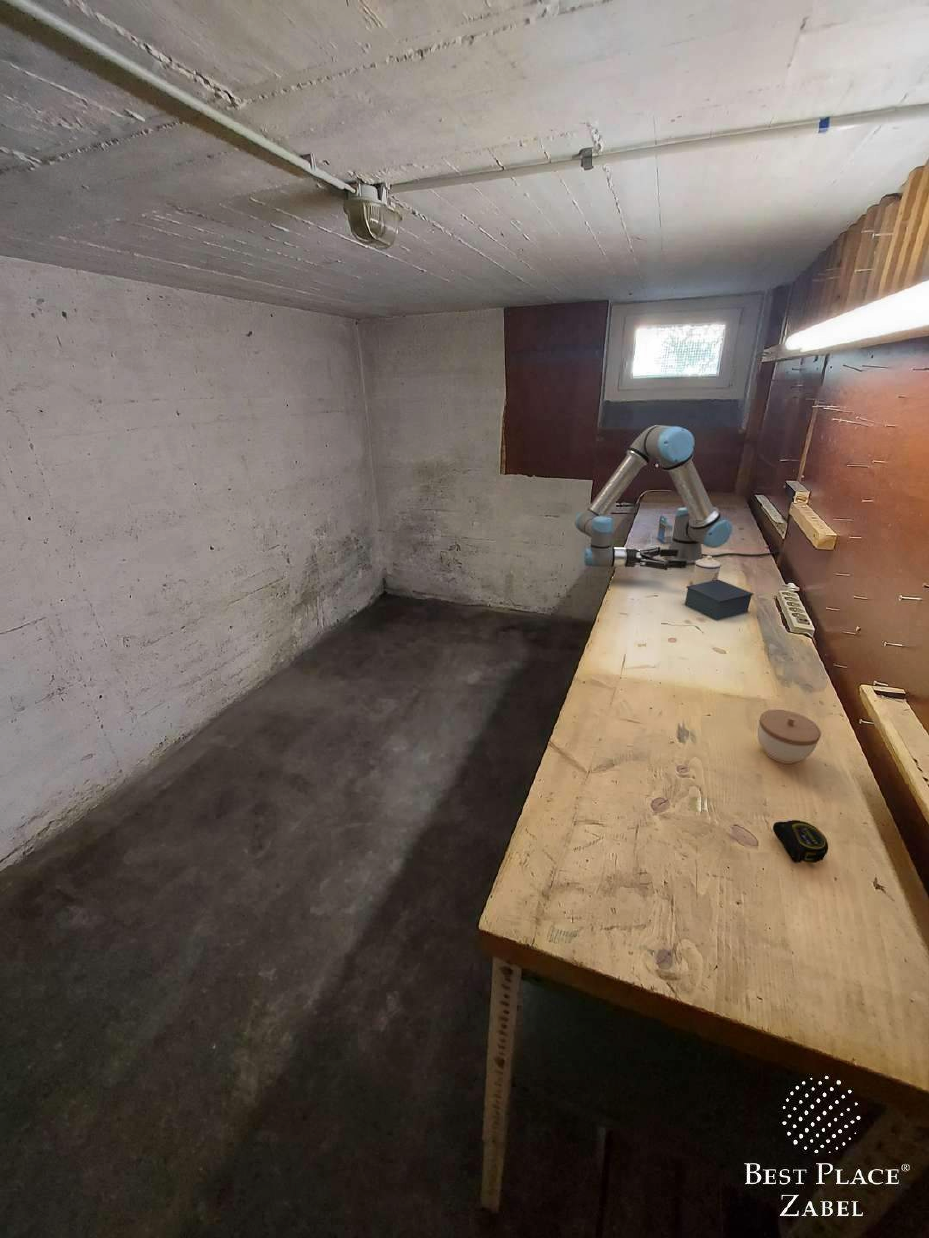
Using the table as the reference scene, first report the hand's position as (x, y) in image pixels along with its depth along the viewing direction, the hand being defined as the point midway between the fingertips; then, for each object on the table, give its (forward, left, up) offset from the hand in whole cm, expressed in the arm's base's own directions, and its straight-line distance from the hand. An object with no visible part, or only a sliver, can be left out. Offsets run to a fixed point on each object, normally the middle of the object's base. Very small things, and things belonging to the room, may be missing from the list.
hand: (681, 558), depth 186 cm
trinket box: (+50, +85, -10) cm, 99 cm away
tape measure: (+69, +103, -10) cm, 125 cm away
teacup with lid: (-9, +5, -10) cm, 14 cm away
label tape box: (-35, -47, -10) cm, 59 cm away
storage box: (+5, +24, -10) cm, 27 cm away
